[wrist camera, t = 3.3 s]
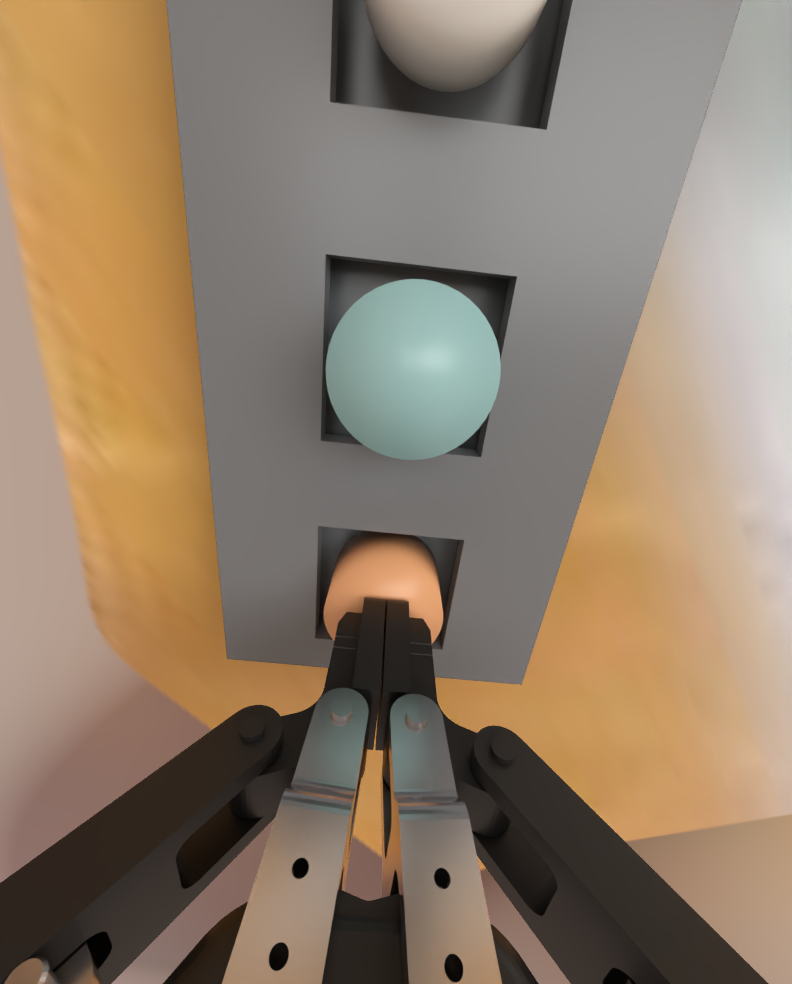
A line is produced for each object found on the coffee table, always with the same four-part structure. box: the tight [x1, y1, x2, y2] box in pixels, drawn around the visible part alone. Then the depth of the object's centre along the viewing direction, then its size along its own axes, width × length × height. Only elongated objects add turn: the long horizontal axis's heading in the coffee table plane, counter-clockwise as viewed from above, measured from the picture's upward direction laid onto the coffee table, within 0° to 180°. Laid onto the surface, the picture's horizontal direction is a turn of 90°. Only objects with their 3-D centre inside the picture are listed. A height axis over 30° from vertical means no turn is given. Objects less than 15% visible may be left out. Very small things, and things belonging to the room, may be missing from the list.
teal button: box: [326, 279, 501, 460], centre depth 10 cm, size 4×4×3 cm
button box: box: [166, 0, 742, 685], centre depth 13 cm, size 24×12×3 cm, turn 174°
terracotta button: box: [324, 531, 443, 643], centre depth 15 cm, size 4×4×3 cm
